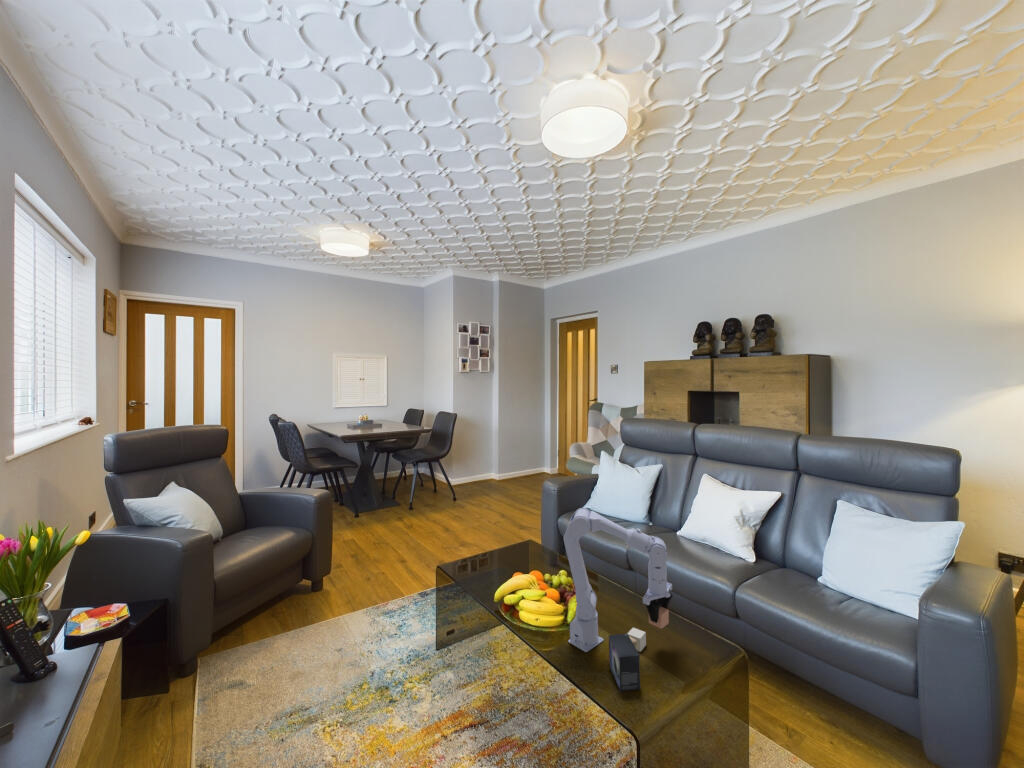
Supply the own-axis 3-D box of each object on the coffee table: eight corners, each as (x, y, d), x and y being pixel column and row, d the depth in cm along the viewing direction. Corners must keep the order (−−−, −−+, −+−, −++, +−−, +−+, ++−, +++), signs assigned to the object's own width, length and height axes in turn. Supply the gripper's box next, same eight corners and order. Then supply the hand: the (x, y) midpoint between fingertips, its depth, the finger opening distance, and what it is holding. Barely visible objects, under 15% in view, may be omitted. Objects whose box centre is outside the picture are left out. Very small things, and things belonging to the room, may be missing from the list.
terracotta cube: (661, 628, 142) (661, 614, 142) (648, 623, 146) (648, 609, 146) (668, 623, 145) (668, 609, 145) (656, 617, 149) (656, 604, 149)
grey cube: (640, 652, 145) (640, 638, 145) (627, 647, 148) (627, 633, 148) (645, 645, 149) (645, 632, 148) (633, 640, 151) (632, 627, 151)
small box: (607, 667, 138) (607, 634, 138) (628, 665, 139) (628, 632, 138) (619, 692, 128) (618, 656, 127) (641, 690, 128) (640, 654, 128)
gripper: (656, 589, 137) (657, 632, 138) (680, 573, 147) (681, 614, 147) (636, 581, 143) (637, 623, 143) (660, 567, 152) (661, 606, 153)
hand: (658, 618), depth 146 cm, fingers closed on terracotta cube, 4 cm apart
